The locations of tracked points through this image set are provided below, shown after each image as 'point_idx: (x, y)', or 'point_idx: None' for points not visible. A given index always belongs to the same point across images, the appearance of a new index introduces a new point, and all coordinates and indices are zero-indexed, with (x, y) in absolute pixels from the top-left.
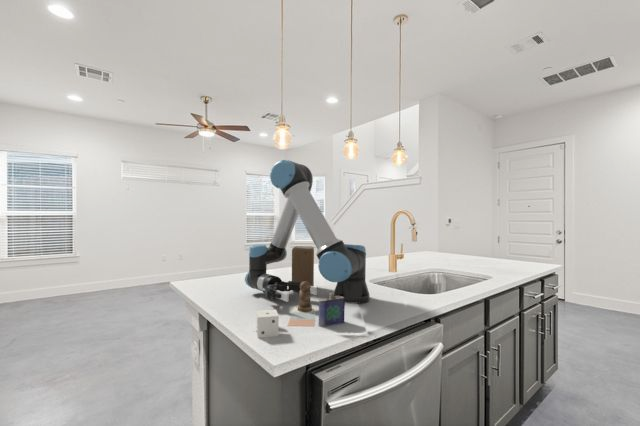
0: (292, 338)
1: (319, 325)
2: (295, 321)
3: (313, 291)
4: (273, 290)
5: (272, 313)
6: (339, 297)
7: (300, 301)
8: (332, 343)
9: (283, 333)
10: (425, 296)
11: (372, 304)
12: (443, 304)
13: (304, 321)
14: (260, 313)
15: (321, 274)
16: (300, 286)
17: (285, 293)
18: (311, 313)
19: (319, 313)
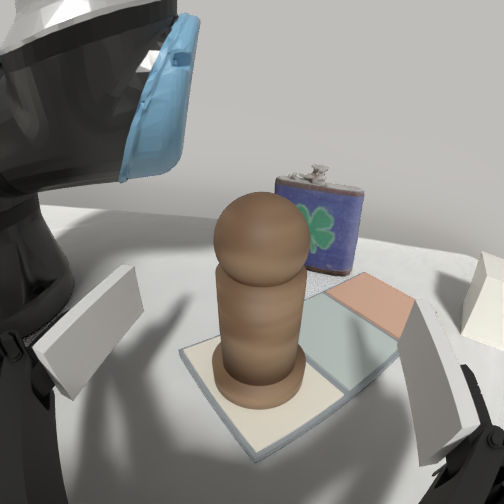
0: (436, 281)
1: (352, 263)
2: (396, 316)
3: (128, 307)
4: (501, 437)
5: (496, 265)
6: (295, 176)
7: (298, 339)
8: (372, 240)
9: (449, 304)
10: None
11: (71, 256)
12: (69, 208)
13: (368, 300)
14: None
15: (175, 135)
16: (308, 241)
17: (434, 312)
18: None
19: (358, 230)
